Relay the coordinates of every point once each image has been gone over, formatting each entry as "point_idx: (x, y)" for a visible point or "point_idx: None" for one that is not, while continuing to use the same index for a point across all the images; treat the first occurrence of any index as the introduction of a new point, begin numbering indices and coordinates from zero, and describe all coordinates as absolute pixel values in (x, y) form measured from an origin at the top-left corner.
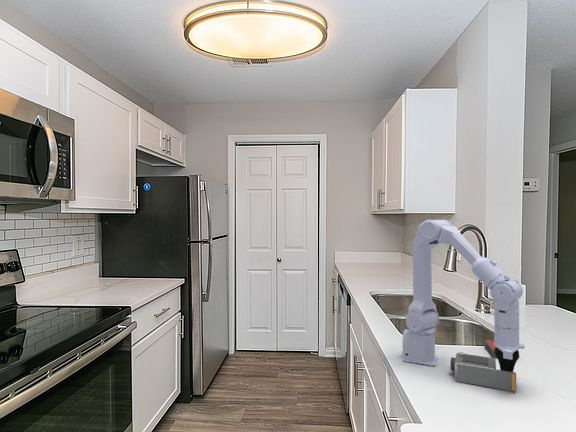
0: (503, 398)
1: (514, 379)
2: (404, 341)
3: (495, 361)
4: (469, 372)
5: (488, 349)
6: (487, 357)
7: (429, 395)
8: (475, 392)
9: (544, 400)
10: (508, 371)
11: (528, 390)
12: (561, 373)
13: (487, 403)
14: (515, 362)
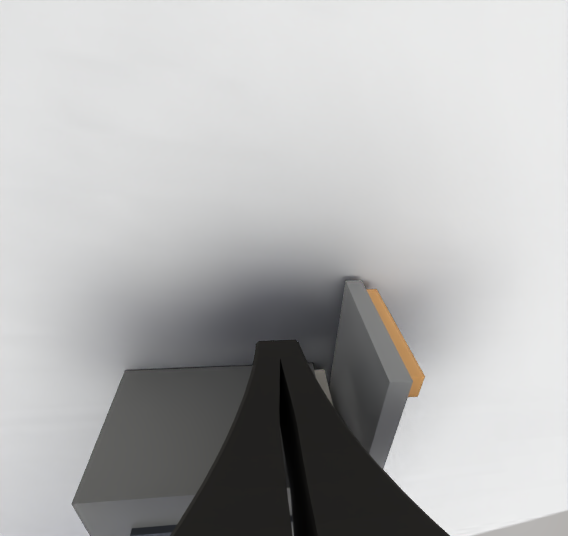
0: (459, 331)
1: (404, 350)
2: None
3: (169, 497)
4: None
5: None
6: (99, 533)
7: (480, 505)
8: (415, 420)
9: (439, 102)
10: (378, 423)
11: (277, 200)
12: None
13: (528, 381)
14: (398, 486)
